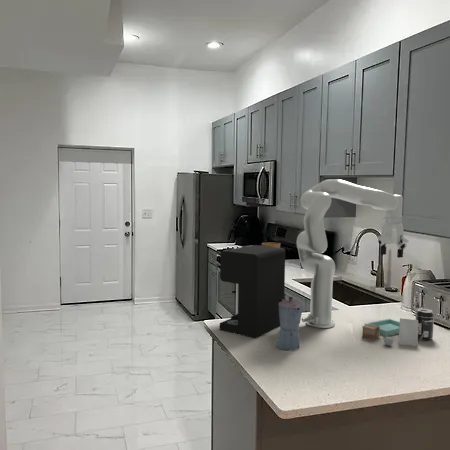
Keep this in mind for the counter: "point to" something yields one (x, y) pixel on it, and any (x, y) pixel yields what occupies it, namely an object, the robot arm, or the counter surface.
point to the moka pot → (289, 324)
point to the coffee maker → (254, 288)
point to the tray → (387, 327)
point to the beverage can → (425, 323)
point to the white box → (408, 332)
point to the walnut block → (370, 332)
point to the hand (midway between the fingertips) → (391, 255)
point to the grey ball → (388, 341)
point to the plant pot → (271, 244)
